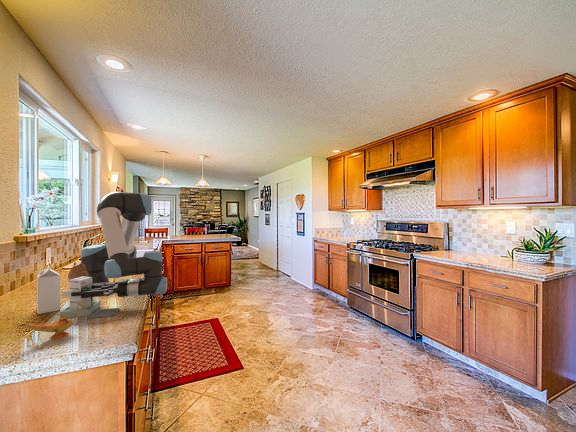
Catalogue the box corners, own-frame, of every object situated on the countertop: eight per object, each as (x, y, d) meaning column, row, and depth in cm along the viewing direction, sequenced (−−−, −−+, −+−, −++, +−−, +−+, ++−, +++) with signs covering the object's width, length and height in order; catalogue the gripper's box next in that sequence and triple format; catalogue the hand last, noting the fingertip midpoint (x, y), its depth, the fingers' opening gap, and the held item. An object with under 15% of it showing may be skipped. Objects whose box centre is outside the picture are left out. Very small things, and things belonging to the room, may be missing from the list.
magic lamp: (14, 343, 87) (14, 309, 87) (82, 326, 101) (83, 296, 101) (17, 350, 83) (17, 314, 83) (88, 331, 97) (88, 300, 97)
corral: (71, 308, 119) (71, 303, 119) (100, 306, 122) (100, 301, 122) (59, 317, 109) (59, 311, 109) (90, 315, 112) (90, 309, 112)
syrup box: (80, 314, 112) (80, 279, 112) (68, 313, 114) (68, 279, 113) (93, 310, 118) (93, 276, 118) (81, 309, 119) (81, 275, 119)
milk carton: (58, 306, 122) (58, 264, 122) (60, 310, 117) (60, 266, 117) (36, 310, 117) (37, 266, 117) (37, 314, 112) (37, 268, 112)
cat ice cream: (63, 300, 130) (63, 263, 130) (80, 296, 137) (80, 260, 137) (77, 302, 127) (77, 264, 127) (93, 297, 135) (93, 261, 135)
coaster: (95, 311, 117) (95, 309, 117) (119, 309, 120) (119, 307, 120) (87, 318, 108) (87, 317, 108) (113, 316, 111) (113, 315, 111)
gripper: (122, 303, 112) (54, 308, 105) (134, 289, 131) (77, 293, 124) (122, 285, 111) (55, 289, 105) (134, 274, 131) (77, 277, 124)
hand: (67, 291), depth 114 cm, fingers closed on syrup box, 7 cm apart
